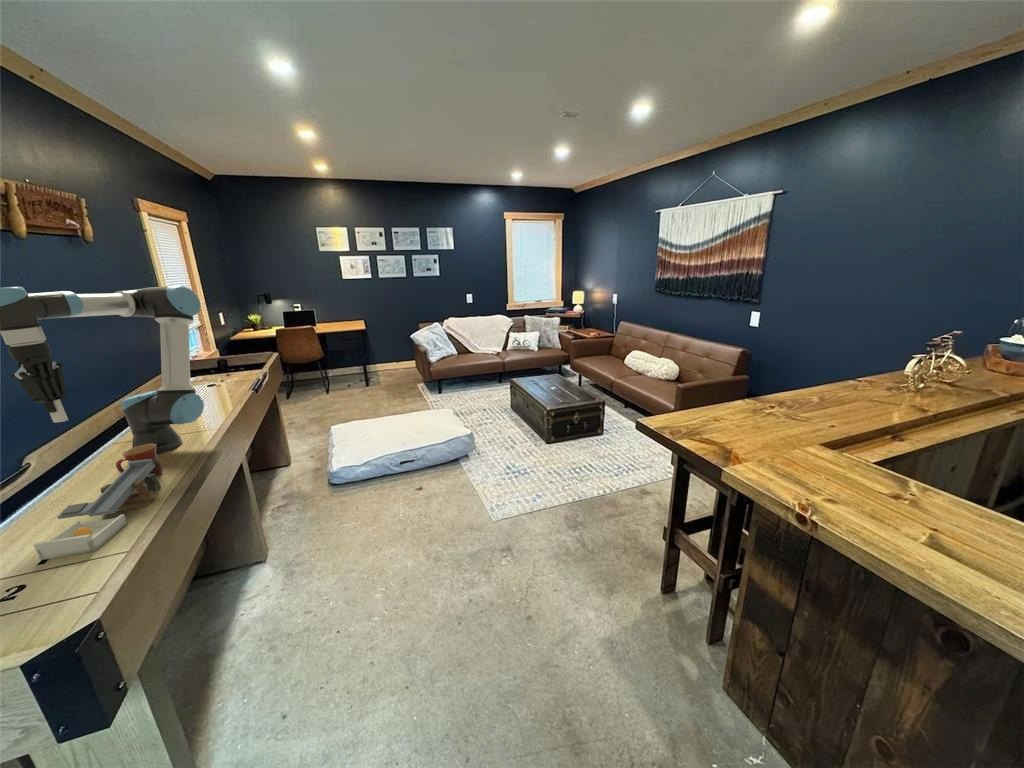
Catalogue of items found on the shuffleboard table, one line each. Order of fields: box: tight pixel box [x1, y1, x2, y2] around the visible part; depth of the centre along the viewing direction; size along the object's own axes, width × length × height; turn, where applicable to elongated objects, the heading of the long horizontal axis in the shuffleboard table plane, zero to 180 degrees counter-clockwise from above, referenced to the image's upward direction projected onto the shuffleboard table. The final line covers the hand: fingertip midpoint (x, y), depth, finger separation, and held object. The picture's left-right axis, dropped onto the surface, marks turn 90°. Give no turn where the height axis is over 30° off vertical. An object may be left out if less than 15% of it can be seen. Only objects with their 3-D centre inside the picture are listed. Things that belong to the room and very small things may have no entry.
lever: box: [56, 459, 155, 520], centre depth 117 cm, size 20×14×3 cm
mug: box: [115, 444, 163, 477], centre depth 135 cm, size 12×9×10 cm
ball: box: [73, 527, 92, 537], centre depth 104 cm, size 3×3×3 cm
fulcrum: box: [100, 473, 162, 512], centre depth 123 cm, size 12×11×8 cm
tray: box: [33, 513, 129, 561], centre depth 104 cm, size 12×12×4 cm
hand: (61, 421), depth 118 cm, fingers closed
